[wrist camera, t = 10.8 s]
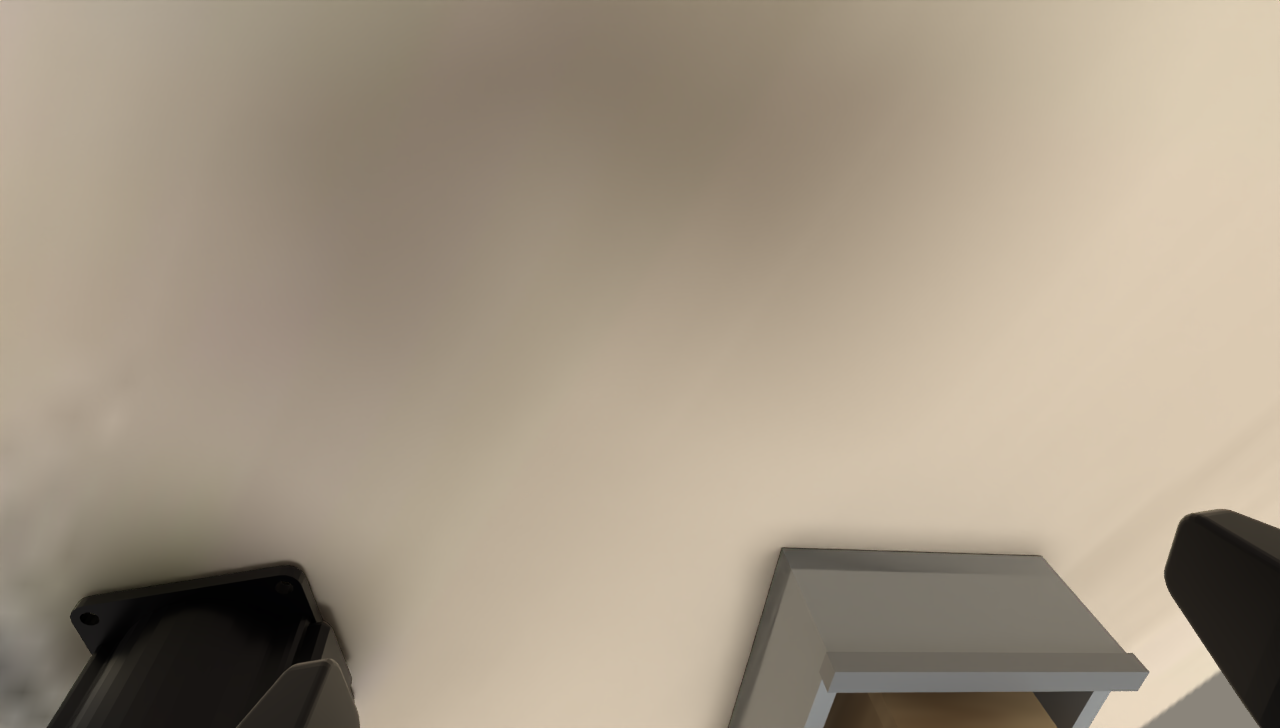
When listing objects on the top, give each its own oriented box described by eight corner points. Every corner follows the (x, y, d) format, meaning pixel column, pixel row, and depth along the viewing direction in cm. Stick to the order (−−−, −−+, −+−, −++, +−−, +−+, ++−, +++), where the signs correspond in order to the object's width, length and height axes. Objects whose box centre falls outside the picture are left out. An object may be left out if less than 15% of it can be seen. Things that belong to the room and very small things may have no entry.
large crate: (720, 746, 29) (755, 886, 25) (780, 545, 25) (835, 671, 21) (952, 741, 31) (1023, 871, 27) (1045, 554, 27) (1149, 672, 22)
